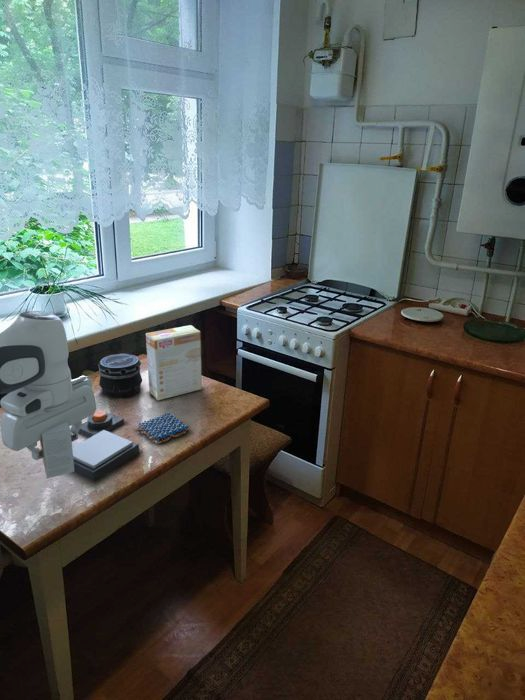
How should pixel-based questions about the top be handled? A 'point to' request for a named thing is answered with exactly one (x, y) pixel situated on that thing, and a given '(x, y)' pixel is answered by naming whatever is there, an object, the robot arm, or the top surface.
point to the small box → (57, 451)
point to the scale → (102, 454)
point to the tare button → (99, 416)
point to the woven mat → (163, 428)
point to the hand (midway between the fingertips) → (56, 448)
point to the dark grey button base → (100, 425)
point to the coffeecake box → (174, 361)
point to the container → (120, 375)
